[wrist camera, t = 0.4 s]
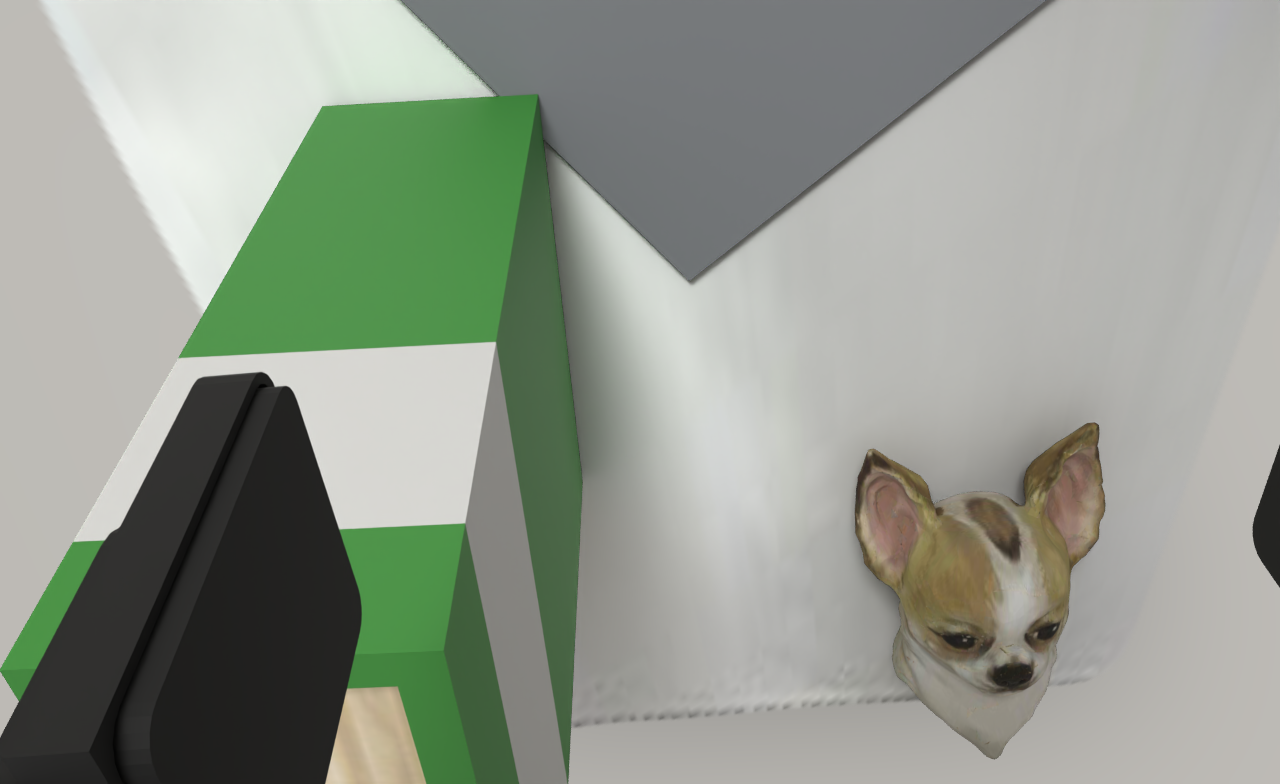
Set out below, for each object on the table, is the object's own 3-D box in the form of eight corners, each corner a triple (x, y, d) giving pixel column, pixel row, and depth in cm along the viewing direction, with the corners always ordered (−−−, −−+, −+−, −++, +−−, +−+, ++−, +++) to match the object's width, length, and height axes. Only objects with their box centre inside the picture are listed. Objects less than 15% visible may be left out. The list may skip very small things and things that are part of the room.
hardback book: (582, 481, 48) (553, 1093, 28) (414, 490, 48) (272, 1103, 29) (538, 94, 37) (443, 650, 18) (322, 106, 37) (-1, 670, 18)
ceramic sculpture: (884, 803, 48) (884, 544, 40) (845, 657, 55) (839, 414, 47) (1128, 777, 47) (1177, 510, 39) (1056, 633, 55) (1086, 384, 47)
